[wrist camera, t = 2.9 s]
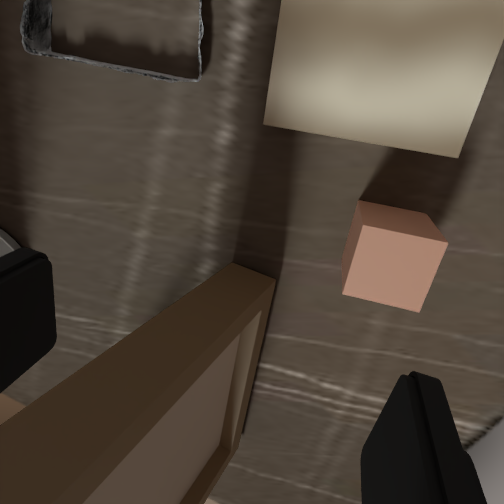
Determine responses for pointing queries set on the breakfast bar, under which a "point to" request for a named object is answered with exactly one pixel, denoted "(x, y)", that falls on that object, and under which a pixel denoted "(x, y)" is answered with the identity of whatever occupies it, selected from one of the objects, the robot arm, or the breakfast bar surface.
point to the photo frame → (146, 406)
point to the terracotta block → (391, 255)
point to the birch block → (384, 69)
